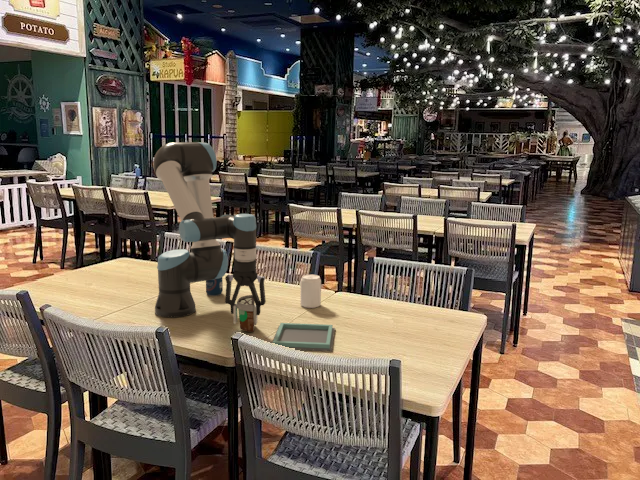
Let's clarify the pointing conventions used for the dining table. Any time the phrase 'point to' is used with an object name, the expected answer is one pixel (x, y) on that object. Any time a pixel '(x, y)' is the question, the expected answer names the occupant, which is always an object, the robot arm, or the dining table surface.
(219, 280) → the soda can
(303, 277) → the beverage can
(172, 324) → the dining table surface
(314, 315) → the dining table surface
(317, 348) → the container holder
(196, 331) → the dining table surface
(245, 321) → the food container
